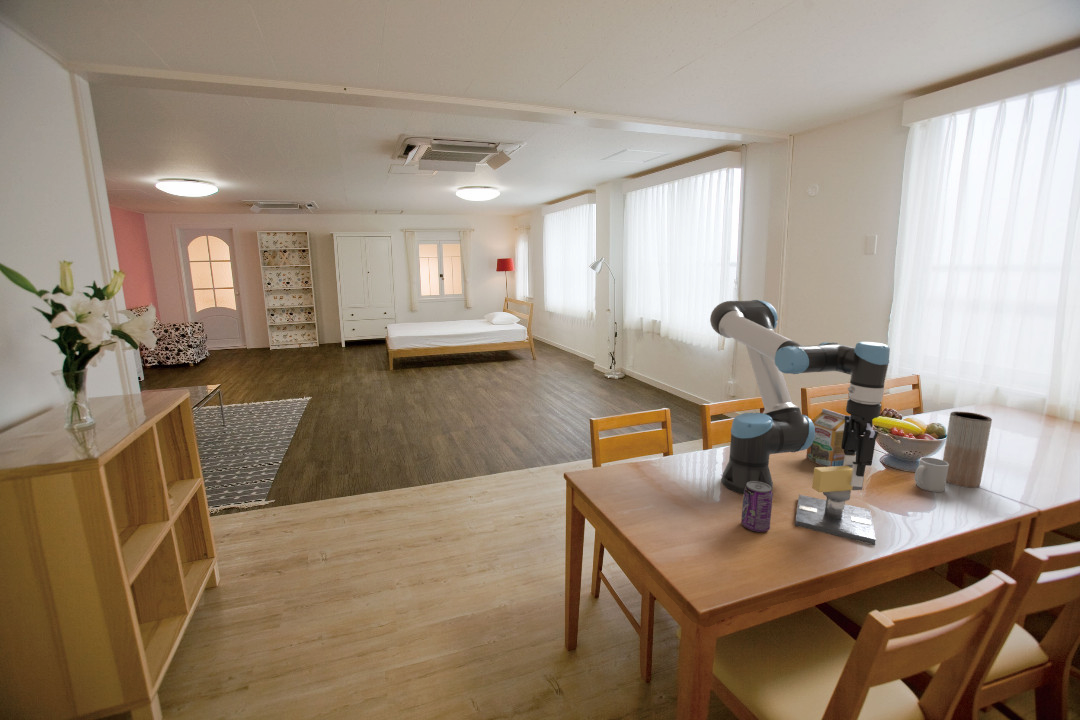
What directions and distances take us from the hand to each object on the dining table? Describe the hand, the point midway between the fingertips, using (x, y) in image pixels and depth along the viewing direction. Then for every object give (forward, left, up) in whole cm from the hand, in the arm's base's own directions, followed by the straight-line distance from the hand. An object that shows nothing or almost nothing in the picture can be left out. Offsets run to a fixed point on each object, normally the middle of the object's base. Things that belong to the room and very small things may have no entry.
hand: (851, 481), depth 130 cm
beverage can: (-22, -17, -12) cm, 30 cm away
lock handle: (-3, -2, -4) cm, 6 cm away
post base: (-3, -2, -12) cm, 12 cm away
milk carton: (-4, +45, -12) cm, 47 cm away
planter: (+33, +49, -12) cm, 60 cm away
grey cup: (+23, +37, -12) cm, 45 cm away
